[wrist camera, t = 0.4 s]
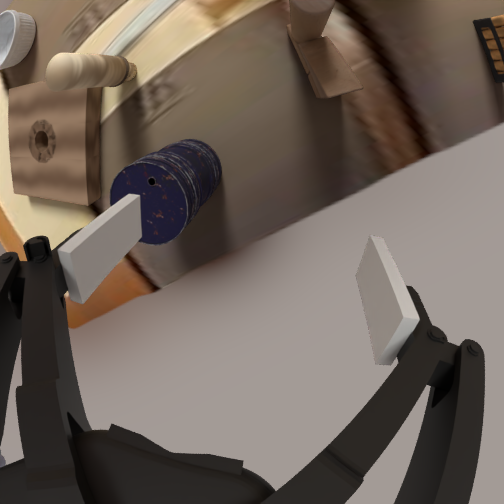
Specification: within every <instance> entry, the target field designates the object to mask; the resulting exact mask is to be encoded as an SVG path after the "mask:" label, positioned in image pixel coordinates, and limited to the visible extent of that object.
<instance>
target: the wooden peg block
mask: <svg viewBox="0 0 504 504" xmlns="http://www.w3.org/2000/svg"><path fill="white" fill-rule="evenodd" d="M289 4H290V18H291V24H288V25H287V33H288V35H289V37H290V39H291V41H292V43H293V45H294V47H295V49H296V51H297V54H298V56H299V58H300V60H301V62H302V65H303V67H304V69H305V71H306V74H307V75H308V79H309V81H310V83H311V86H312V88H313V91H314V93H315V95H316V97H317V98H332V97H335V96H339V95H342V94H346V93H350V92H354V91H357V90H361V89H363V86H362V85H361V83H360V81H359V80H358V78H357V77H356V75H355V74H354V72H353V71H352V69H351V68H350V66H349V65H348V64H347V62H346V61H345V59H344V58H343V57H342V55H341V54H340V52H339V51H338V50H337V48H336V47H335V46H334V44H333V43H332V42H331V40H330V39H329V38H328V37H327V36H325V37H322V36H321V35H322V32H323V30H324V28H325V25H326V23H327V21H328V18H329V16H330V14H331V11H332V9H333V7H334V5H335V0H289Z"/></svg>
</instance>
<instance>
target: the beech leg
mask: <svg viewBox="0 0 504 504" xmlns="http://www.w3.org/2000/svg"><path fill="white" fill-rule="evenodd" d="M136 73H137V68H136V66H135V65H134V64H133V63H128V61H127V60H126V59H125V58H124V57H122V56H109V55H98V54H83V53H59V54H57V55H55V56H54V57H53V58H52V59H51V61H50V62H49V64H48V66H47V69H46V75H45V79H46V84H47V86H48V88H49V89H50V90H52V91H64V90H72V89H82V88H93V87H116V86H119V85H121V84H122V83H123V82H124V81H130V80H132V79H133V78H134V77H135V75H136Z"/></svg>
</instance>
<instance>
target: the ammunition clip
mask: <svg viewBox="0 0 504 504" xmlns="http://www.w3.org/2000/svg"><path fill="white" fill-rule="evenodd" d="M473 23H474V25H475V27H476V30H477V32H478V34H479V37H480V39H481V42H482V44H483V47H484V50H485V52H486V55H487V58H488V61H489V63H490V66H491V69H492V73H493V76H494V79H495V82H496V83H497V82H504V50H503V49H504V27H501V26H504V15H500V16H495V17H491V18H485V19H480V20H474V21H473ZM499 38H502V39H499ZM492 39H494V40H492ZM500 60H502V61H500Z"/></svg>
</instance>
